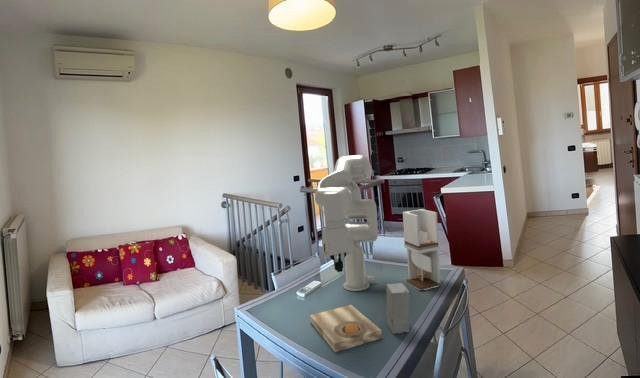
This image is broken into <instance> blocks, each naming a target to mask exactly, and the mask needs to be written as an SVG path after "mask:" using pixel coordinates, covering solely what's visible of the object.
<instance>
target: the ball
mask: <svg viewBox="0 0 640 378" xmlns="http://www.w3.org/2000/svg"><path fill="white" fill-rule="evenodd" d="M358 331H359V329H358V327H357V326H356V325H354V324H349V325H347V326H346V328H345V333H346V334H354V333H357V332H358Z"/></svg>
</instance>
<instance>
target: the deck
mask: <svg viewBox="0 0 640 378" xmlns="http://www.w3.org/2000/svg"><path fill="white" fill-rule="evenodd" d="M309 317H310V323H311V325H312V326H313V327H314V328H315V330H316V331H317V332H318V333H319V335H320V336H321V337H322V338H323V339H324V340H325V343H326V344H328V345H329V347H330V348H331V350H333V352H334V353H338V352H341V351H344V350H348V349H351V348H355V347H357V346H361V345H363V344H367V343H370V342H374V341H377V340H381V339H383V336H382V329H380V328H379V326H377V325H376V324H375V323H373V322H372V321H371V320H370V319H369V318H367V317H366V316H365V315H364V314H363V313H361V312H360V311H359V310H358V308H356V307H355V306H353V305H352V304H348V305H344V306H341V307H337V308H334V309H329V310H325V311H321V312H318V313H314V314H310V315H309ZM349 324H354V325H356V326H357V327H358V329H359V331H358V332H357V333H354V334H346V333H345V328H346V326H347V325H349Z"/></svg>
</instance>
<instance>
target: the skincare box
mask: <svg viewBox="0 0 640 378" xmlns="http://www.w3.org/2000/svg"><path fill="white" fill-rule="evenodd" d="M385 286H386V321H385V322H386V324H387V327H388V328H389V330H390V332H391V334H392V335H395V334H396V333H397V334H403V333H402V332H407V333H409V332H410V291H409V289H408V288H407V286H405V285H404V283H402V282H400V283H399V282H398V283H387V284H386V285H385ZM408 331H409V332H408Z"/></svg>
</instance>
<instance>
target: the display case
mask: <svg viewBox="0 0 640 378" xmlns="http://www.w3.org/2000/svg"><path fill="white" fill-rule="evenodd" d="M402 220H403V221H402V222H403V224H402V225H403V239H404V248H405V249H406V253H407V255H406V256H407V272H408V276H407V277H408V278H407V279H406V284H407V283H408V284H410V285H412V286H414V287H416V288H417V289H419V290H424V289H427V288H431V287H434V286H438V285H440V286H441V274H440V273H441V272H440V253H439V252H440V250H439V247H440V246H439V229H438V228H439V227H438V212H436V211H432V210H427V209H424V208H421V209H414V210H413V209H412V210H407V211H402ZM408 284H407V285H408ZM410 285H409V286H410ZM412 286H411V287H412ZM417 289H416V290H417Z"/></svg>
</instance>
